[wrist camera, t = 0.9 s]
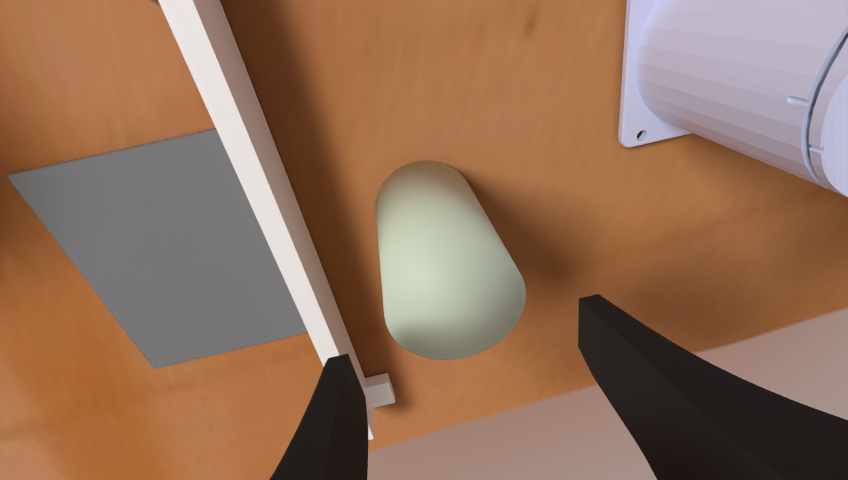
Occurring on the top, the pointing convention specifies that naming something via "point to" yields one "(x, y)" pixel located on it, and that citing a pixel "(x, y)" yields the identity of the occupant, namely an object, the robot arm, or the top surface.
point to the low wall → (265, 179)
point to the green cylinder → (443, 265)
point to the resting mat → (167, 246)
